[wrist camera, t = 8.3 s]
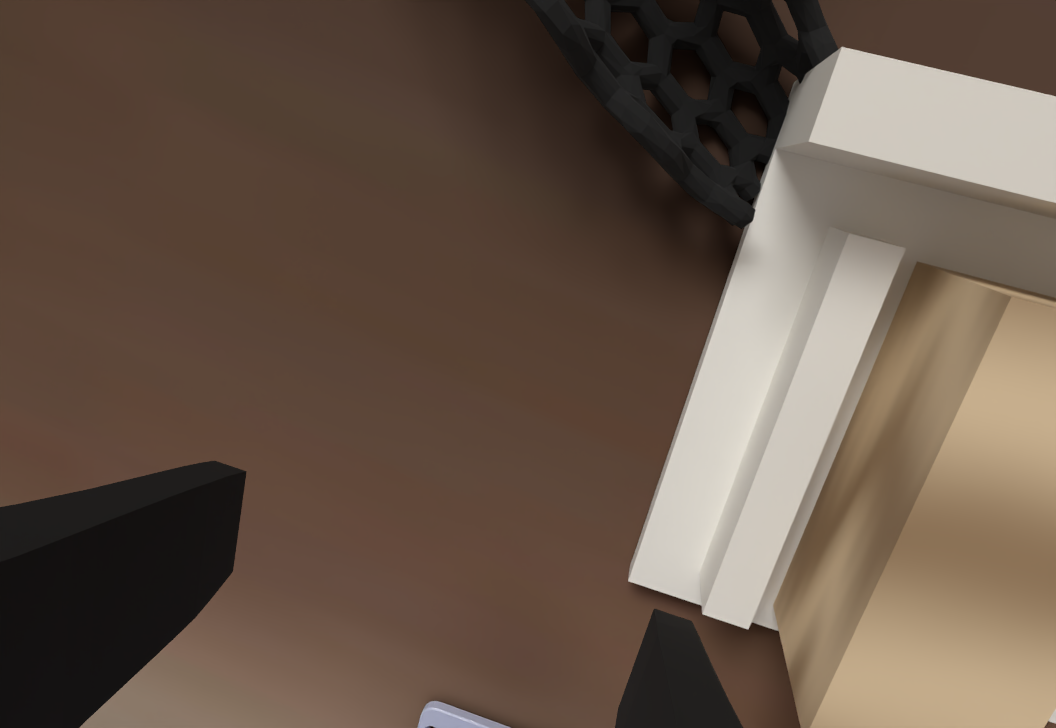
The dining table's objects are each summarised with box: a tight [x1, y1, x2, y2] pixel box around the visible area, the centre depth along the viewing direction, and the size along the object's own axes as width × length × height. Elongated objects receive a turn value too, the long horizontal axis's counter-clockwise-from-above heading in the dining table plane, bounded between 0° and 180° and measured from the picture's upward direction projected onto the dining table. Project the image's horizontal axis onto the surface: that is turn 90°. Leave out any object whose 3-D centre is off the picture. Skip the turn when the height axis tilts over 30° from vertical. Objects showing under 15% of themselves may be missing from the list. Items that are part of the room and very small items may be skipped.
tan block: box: [773, 261, 1056, 728], centre depth 16 cm, size 10×4×5 cm, turn 166°
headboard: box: [628, 47, 1056, 723], centre depth 16 cm, size 14×12×5 cm
